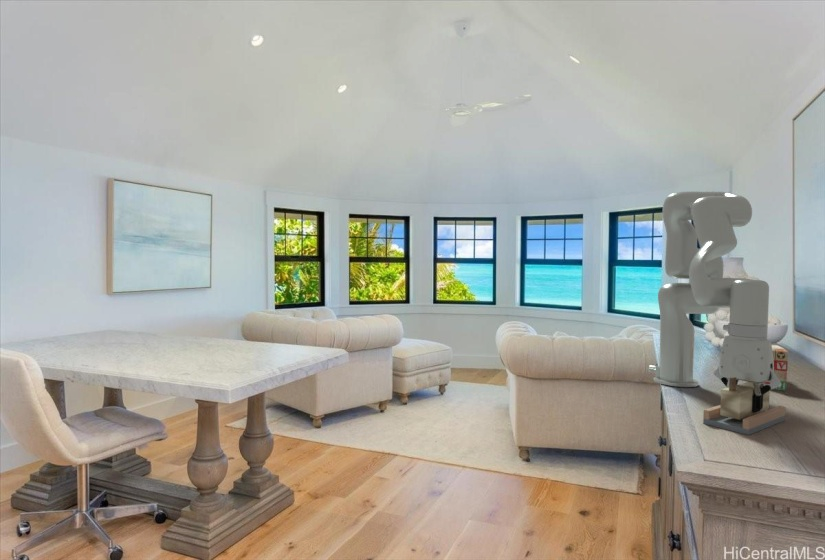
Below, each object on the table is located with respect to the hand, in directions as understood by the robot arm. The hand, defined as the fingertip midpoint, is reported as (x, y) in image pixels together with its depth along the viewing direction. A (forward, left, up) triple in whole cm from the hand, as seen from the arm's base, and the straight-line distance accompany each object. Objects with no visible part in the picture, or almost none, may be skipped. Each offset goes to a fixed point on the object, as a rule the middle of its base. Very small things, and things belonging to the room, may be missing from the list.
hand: (745, 408), depth 118 cm
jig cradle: (0, 0, -3) cm, 3 cm away
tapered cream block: (0, 0, -1) cm, 1 cm away
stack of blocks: (-15, +53, -4) cm, 55 cm away
